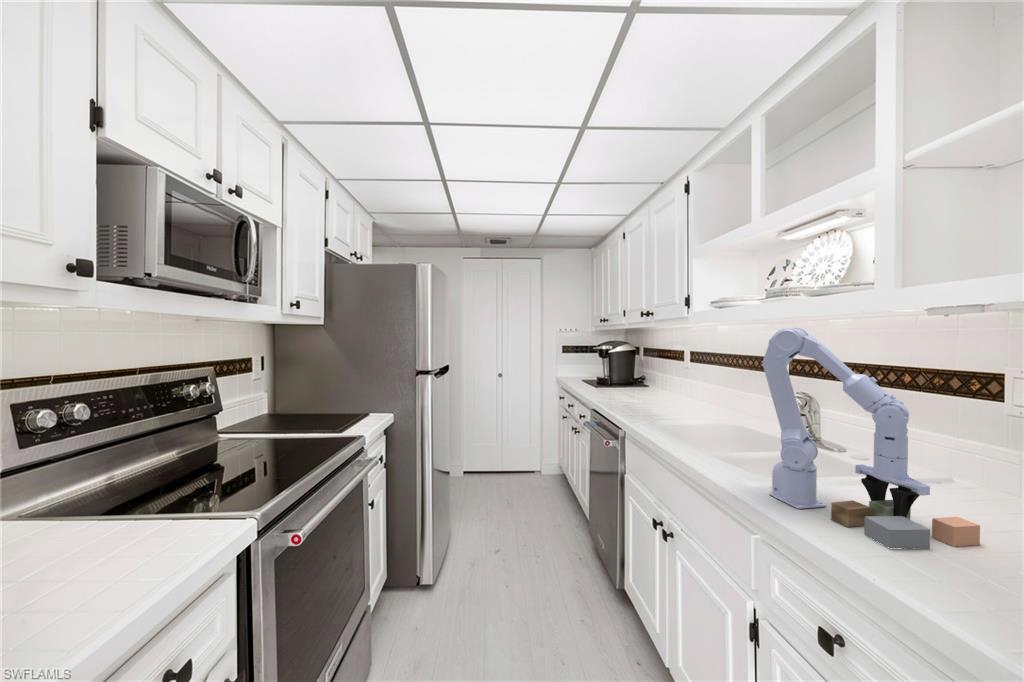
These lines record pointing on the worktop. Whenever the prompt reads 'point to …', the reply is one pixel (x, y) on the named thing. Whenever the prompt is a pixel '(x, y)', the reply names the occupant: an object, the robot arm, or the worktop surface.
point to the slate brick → (897, 532)
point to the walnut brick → (849, 513)
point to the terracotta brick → (955, 531)
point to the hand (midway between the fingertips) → (889, 515)
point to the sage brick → (883, 508)
